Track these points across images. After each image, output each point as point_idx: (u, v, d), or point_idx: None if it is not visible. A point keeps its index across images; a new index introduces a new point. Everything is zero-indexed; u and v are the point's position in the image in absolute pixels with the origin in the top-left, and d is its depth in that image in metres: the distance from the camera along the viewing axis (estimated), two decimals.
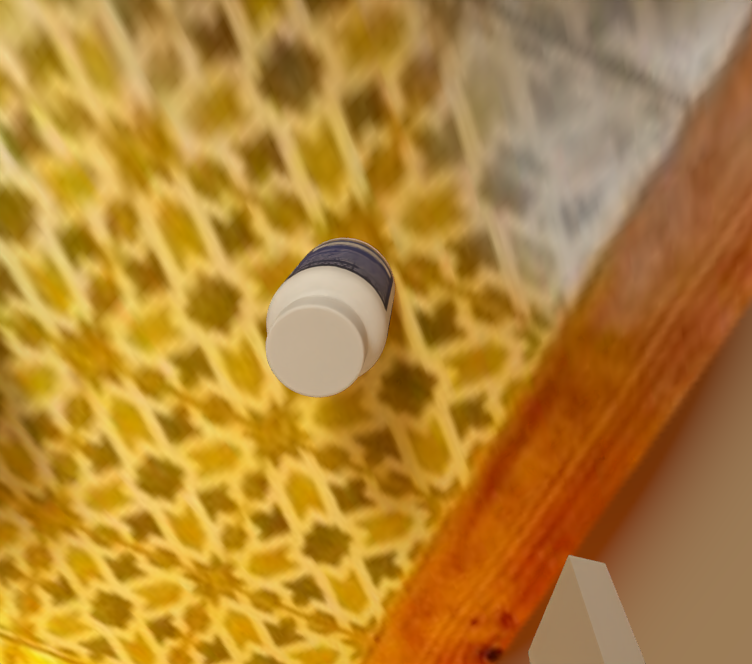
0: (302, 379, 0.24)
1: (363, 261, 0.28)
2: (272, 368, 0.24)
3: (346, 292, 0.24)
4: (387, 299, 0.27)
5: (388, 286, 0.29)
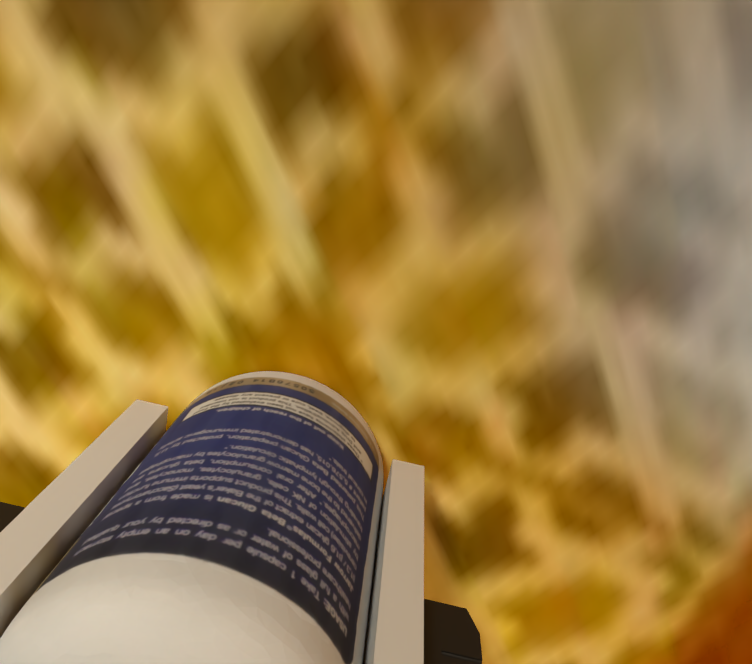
0: None
1: (293, 477, 0.10)
2: None
3: None
4: (358, 590, 0.10)
5: (364, 521, 0.11)
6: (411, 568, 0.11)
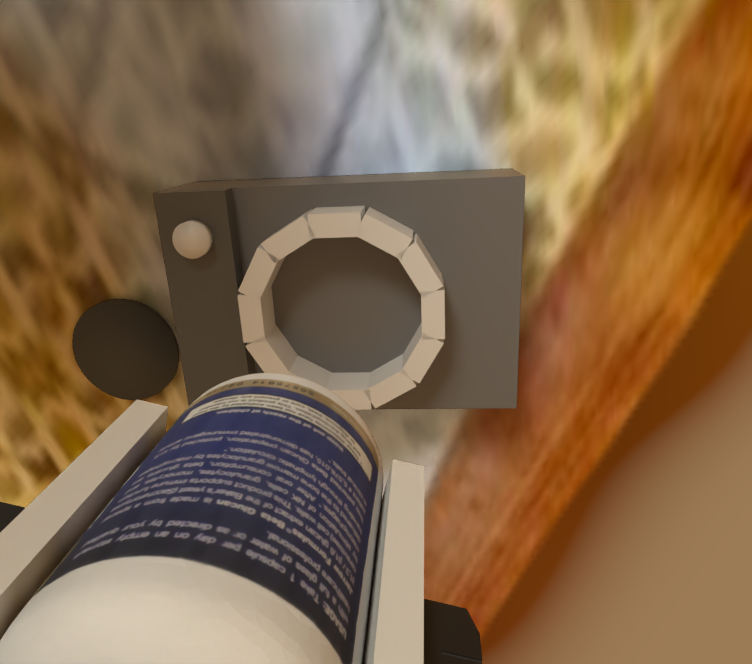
0: None
1: (292, 480, 0.10)
2: None
3: None
4: (357, 593, 0.10)
5: (363, 523, 0.11)
6: (411, 568, 0.11)
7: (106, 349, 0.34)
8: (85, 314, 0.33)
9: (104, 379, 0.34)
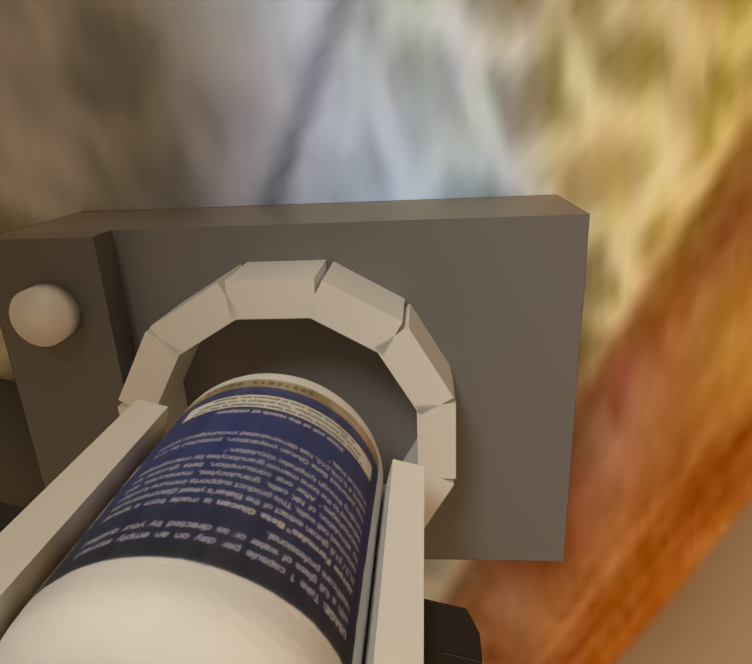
0: None
1: (292, 480, 0.10)
2: None
3: None
4: (357, 593, 0.10)
5: (363, 524, 0.11)
6: (411, 568, 0.11)
7: None
8: None
9: None
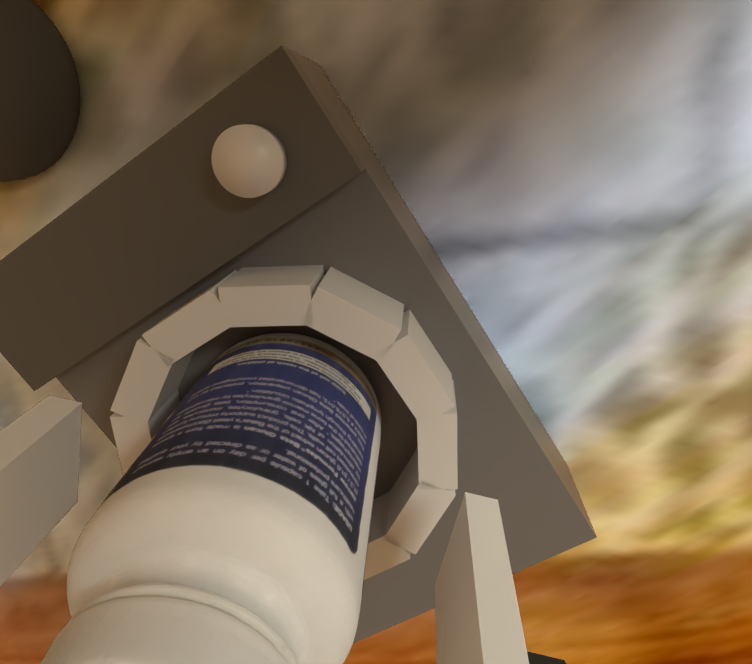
0: None
1: (304, 413, 0.12)
2: None
3: (243, 553, 0.09)
4: (360, 502, 0.12)
5: (364, 452, 0.13)
6: (508, 619, 0.10)
7: None
8: None
9: None
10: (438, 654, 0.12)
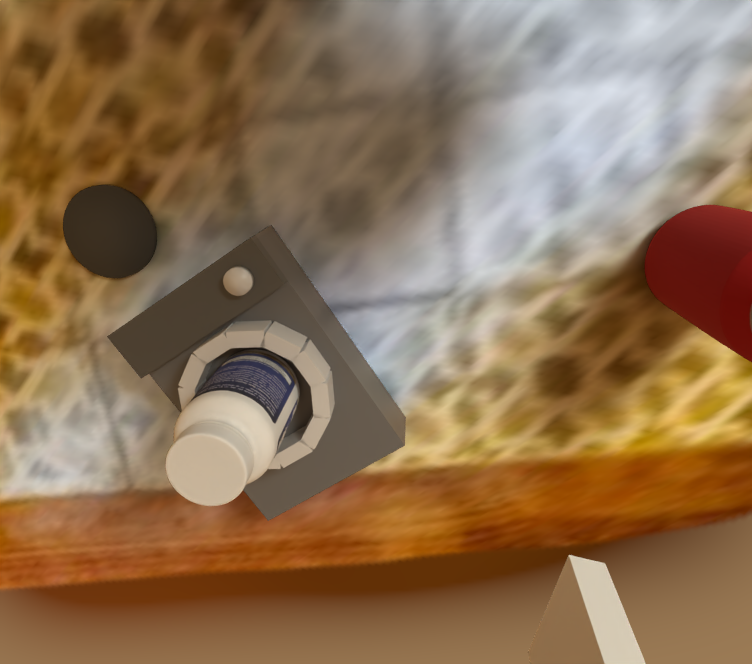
0: (198, 492, 0.28)
1: (258, 377, 0.32)
2: (172, 485, 0.28)
3: (234, 415, 0.29)
4: (279, 410, 0.32)
5: (284, 395, 0.33)
6: None
7: (100, 218, 0.38)
8: (115, 189, 0.37)
9: (74, 227, 0.38)
10: None
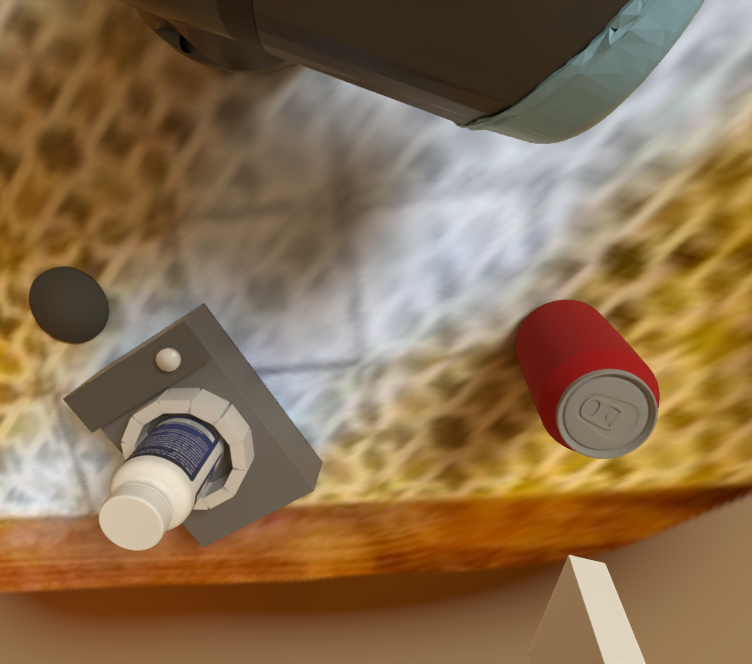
0: (125, 540, 0.36)
1: (183, 441, 0.40)
2: (105, 534, 0.36)
3: (156, 477, 0.36)
4: (198, 468, 0.39)
5: (205, 453, 0.41)
6: None
7: (60, 294, 0.45)
8: (72, 271, 0.44)
9: (38, 301, 0.45)
10: None
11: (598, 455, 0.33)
